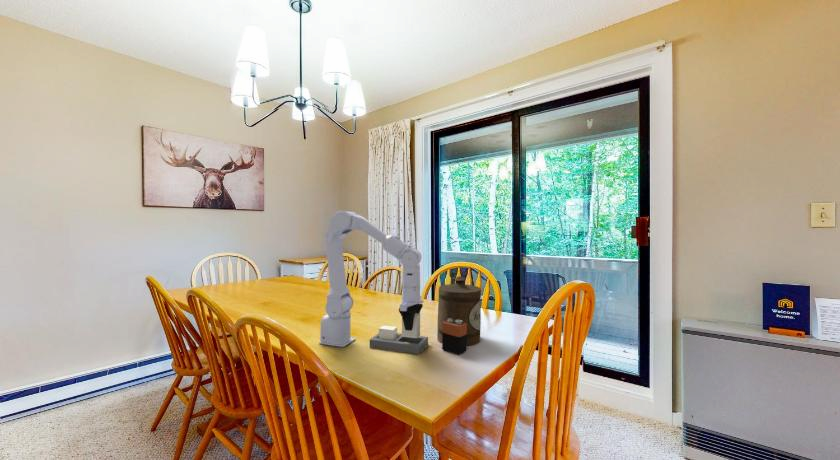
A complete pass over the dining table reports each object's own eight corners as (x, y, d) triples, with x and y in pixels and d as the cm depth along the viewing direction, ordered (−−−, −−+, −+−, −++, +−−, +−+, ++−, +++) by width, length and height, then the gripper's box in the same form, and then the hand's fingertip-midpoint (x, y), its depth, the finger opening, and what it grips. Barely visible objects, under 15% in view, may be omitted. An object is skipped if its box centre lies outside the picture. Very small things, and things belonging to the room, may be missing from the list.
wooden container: (483, 347, 110) (484, 280, 109) (438, 346, 110) (438, 279, 110) (476, 333, 125) (477, 273, 124) (436, 332, 125) (437, 273, 125)
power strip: (369, 347, 109) (369, 330, 109) (381, 338, 118) (381, 322, 118) (419, 354, 104) (419, 336, 104) (428, 344, 112) (428, 328, 112)
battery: (459, 355, 103) (459, 323, 103) (441, 350, 107) (441, 318, 107) (467, 351, 106) (467, 320, 106) (449, 346, 111) (449, 316, 110)
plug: (401, 336, 108) (401, 314, 108) (405, 333, 112) (405, 312, 112) (416, 338, 107) (416, 316, 107) (420, 335, 110) (420, 313, 110)
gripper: (415, 291, 101) (414, 336, 101) (429, 283, 115) (429, 323, 115) (393, 289, 103) (393, 333, 103) (410, 282, 117) (409, 321, 117)
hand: (410, 328), depth 109 cm, fingers closed on plug, 3 cm apart
